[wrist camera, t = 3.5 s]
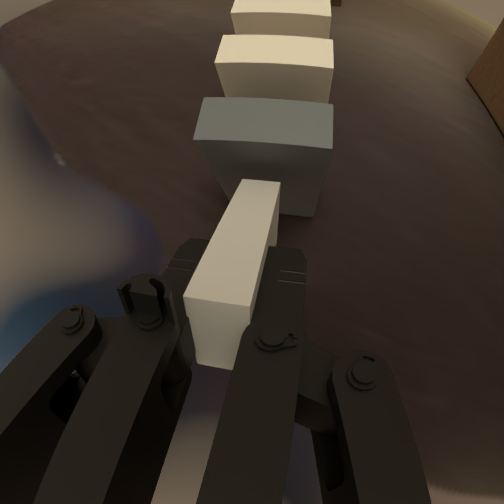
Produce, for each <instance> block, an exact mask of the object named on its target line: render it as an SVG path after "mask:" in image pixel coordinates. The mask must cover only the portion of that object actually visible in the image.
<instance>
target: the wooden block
mask: <svg viewBox="0 0 504 504" xmlns="http://www.w3.org/2000/svg"><path fill="white" fill-rule="evenodd" d="M467 78H468V81H469V82H470V84H471V85H472V86H473V88H474V89H475V91H476V92H477V93H478V95H479V96H480V98H481V99H482V101H483V102H484V104H485V105H486V107H487V109H488V110H489V112H490V113H491V115H492V116H493V118H494V120H495V121H496V123H497V125H498V126H499V128H500V130H501V132H502V133H503V135H504V18H503V20H502V22H501V24H500V25H499V27H498V29H497V30H496V32H495V34H494V35H493V37H492V39H491V40H490V42H489V43H488V45H487V47H486V48H485V50H484V51H483V53H482V54H481V56H480V58H479V59H478V61H477V62H476V64H475V65H474V67H473V68H472V70H471V71H470V73H469V74H468V77H467Z"/></svg>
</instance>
